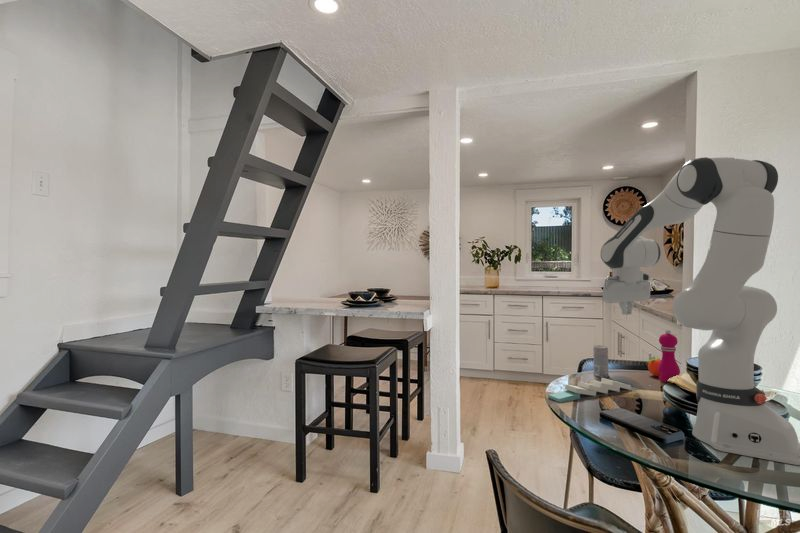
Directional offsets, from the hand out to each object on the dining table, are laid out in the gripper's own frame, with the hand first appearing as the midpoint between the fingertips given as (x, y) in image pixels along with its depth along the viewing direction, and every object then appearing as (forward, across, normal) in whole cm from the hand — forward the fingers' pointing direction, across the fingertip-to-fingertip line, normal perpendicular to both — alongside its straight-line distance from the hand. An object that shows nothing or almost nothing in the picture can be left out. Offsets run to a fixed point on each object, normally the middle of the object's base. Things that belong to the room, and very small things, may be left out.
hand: (626, 314), depth 150 cm
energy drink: (+27, +7, +18) cm, 33 cm away
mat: (+27, -12, 0) cm, 30 cm away
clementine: (+27, +26, +8) cm, 39 cm away
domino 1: (+26, -25, 0) cm, 36 cm away
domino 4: (+26, -7, 0) cm, 27 cm away
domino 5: (+26, -1, 0) cm, 26 cm away
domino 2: (+26, -18, 0) cm, 31 cm away
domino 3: (+26, -12, 0) cm, 29 cm away
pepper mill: (+27, +22, 0) cm, 35 cm away
